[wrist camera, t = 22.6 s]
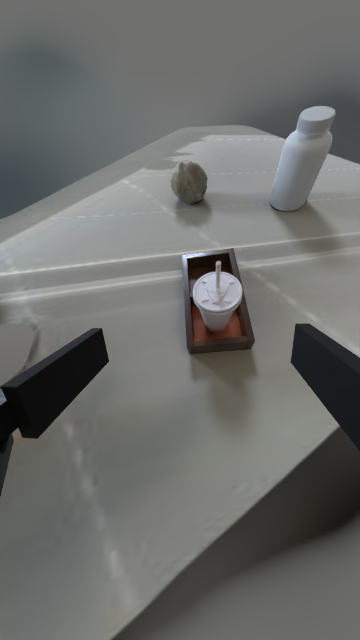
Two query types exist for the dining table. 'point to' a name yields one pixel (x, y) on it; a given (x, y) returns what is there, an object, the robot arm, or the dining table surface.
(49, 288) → the dining table surface
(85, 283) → the dining table surface
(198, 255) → the tray
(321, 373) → the robot arm
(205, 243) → the dining table surface
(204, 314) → the smoothie
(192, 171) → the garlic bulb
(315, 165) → the pill bottle
